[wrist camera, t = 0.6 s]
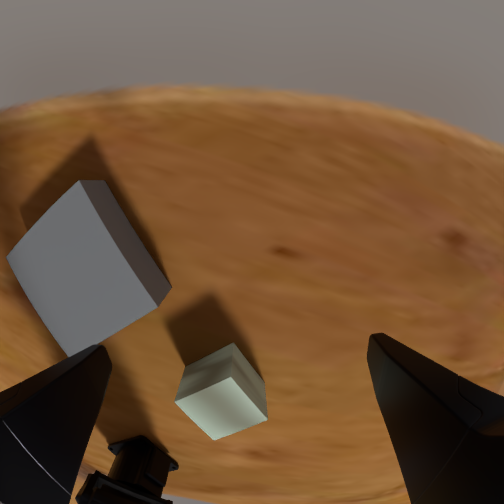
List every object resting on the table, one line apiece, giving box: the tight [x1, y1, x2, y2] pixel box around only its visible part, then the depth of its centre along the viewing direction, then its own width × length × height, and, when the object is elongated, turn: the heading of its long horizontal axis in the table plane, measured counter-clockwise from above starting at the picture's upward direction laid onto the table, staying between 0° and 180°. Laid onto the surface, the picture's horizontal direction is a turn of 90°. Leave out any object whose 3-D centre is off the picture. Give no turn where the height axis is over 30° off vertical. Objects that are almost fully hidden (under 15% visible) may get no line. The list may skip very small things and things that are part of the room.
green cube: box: [174, 342, 268, 440], centre depth 22 cm, size 5×5×5 cm
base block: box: [6, 180, 172, 357], centre depth 20 cm, size 10×10×4 cm
